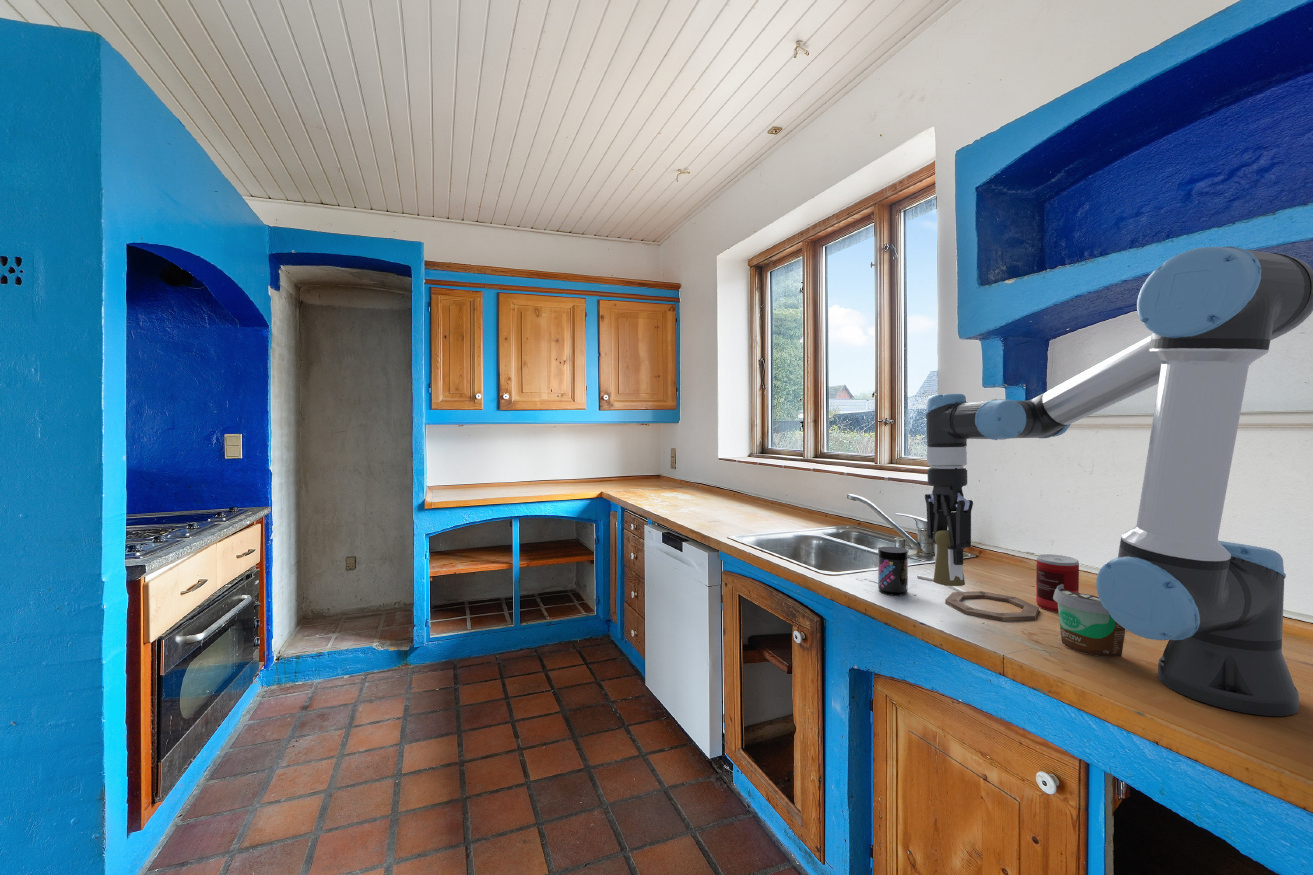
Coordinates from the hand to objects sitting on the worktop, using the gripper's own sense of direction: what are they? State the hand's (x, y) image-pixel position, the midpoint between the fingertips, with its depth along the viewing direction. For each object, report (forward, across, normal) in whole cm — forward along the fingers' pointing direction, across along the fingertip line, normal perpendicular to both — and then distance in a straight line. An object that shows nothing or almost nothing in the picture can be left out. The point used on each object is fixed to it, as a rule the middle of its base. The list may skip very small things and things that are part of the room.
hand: (948, 576), depth 119 cm
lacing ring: (+9, +5, -13) cm, 16 cm away
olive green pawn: (+1, 0, 0) cm, 1 cm away
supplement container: (+8, +18, +3) cm, 20 cm away
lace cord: (+8, +21, -11) cm, 25 cm away
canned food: (+9, +3, -27) cm, 28 cm away
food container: (+9, -18, -14) cm, 25 cm away
